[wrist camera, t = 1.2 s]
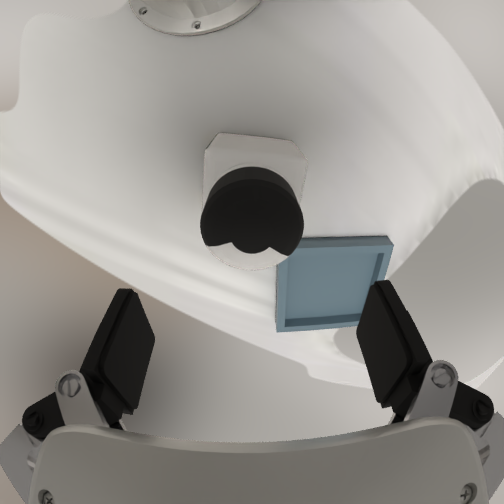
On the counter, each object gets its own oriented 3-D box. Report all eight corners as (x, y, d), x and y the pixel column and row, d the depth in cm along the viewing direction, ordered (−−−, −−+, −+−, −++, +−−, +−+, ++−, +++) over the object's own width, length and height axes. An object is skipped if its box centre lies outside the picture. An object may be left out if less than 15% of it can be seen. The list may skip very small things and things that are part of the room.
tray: (277, 238, 29) (279, 249, 28) (386, 236, 29) (393, 245, 27) (275, 321, 37) (276, 332, 35) (364, 314, 36) (368, 324, 35)
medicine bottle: (216, 132, 23) (189, 167, 13) (294, 140, 24) (328, 183, 14) (211, 202, 27) (189, 279, 17) (282, 209, 27) (300, 288, 17)
